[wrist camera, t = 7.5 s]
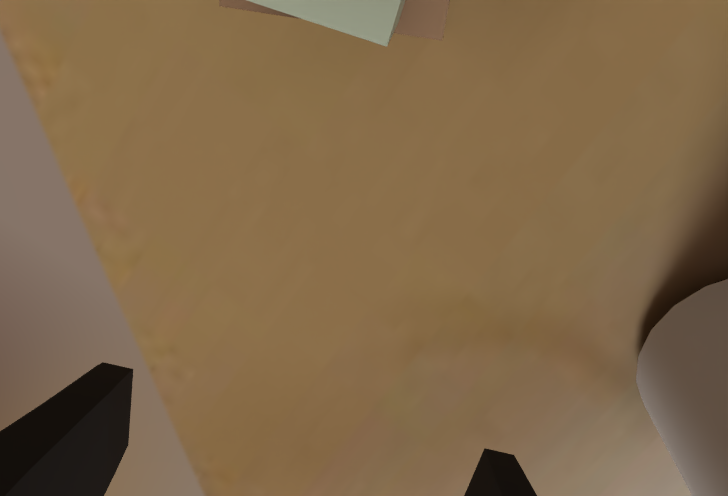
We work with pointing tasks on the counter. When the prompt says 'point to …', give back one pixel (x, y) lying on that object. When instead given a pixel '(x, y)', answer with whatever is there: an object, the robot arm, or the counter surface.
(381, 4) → the green block
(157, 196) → the counter surface
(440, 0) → the walnut slab
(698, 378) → the can
